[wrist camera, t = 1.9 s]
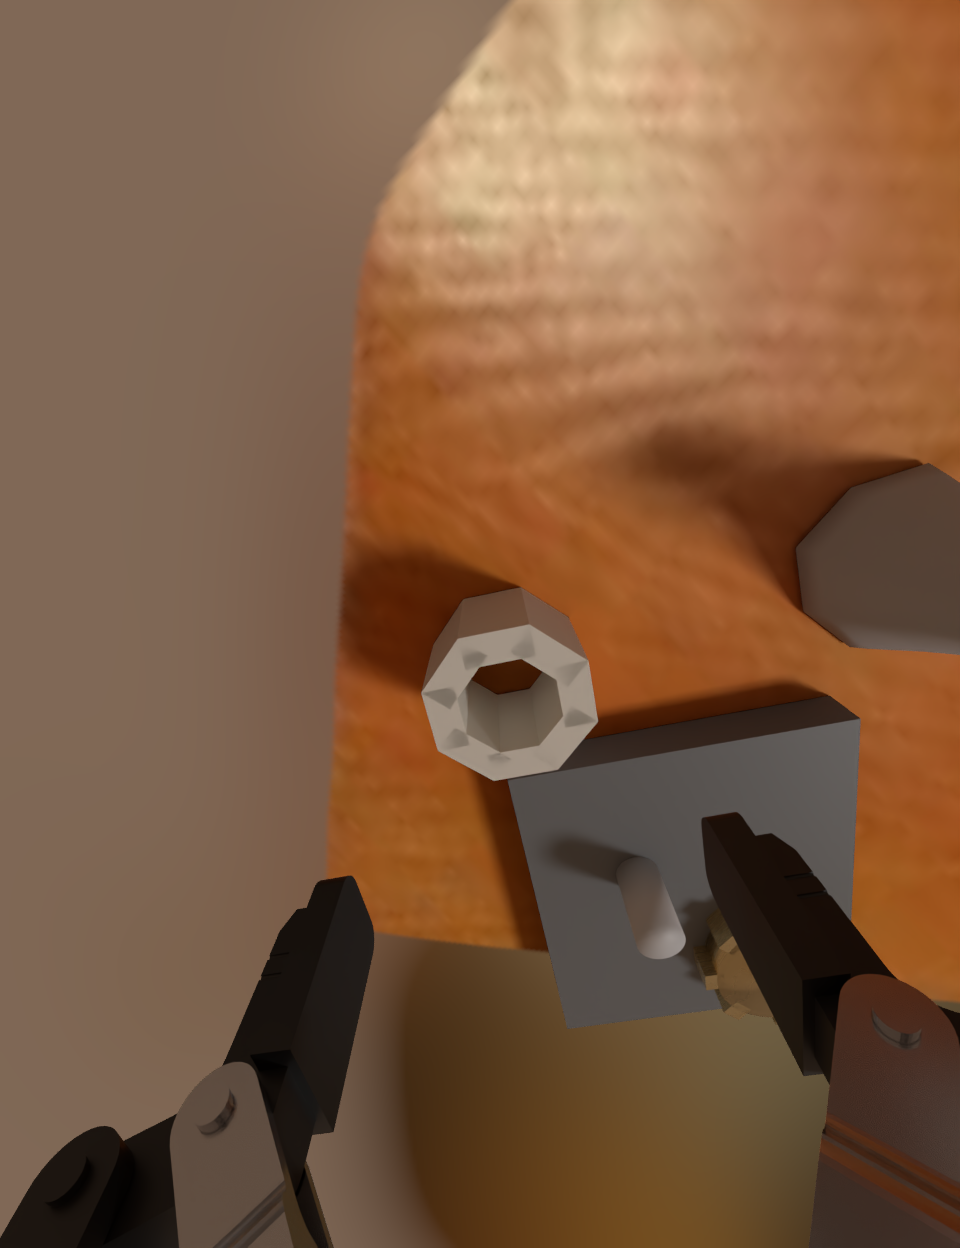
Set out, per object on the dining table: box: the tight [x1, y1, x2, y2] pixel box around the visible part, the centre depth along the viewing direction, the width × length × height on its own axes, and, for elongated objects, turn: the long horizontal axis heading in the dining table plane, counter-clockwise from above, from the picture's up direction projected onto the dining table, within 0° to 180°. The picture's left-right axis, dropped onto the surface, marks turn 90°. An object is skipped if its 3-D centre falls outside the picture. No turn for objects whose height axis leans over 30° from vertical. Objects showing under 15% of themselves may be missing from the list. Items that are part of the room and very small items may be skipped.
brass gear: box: [693, 908, 778, 1025], centre depth 24 cm, size 8×8×3 cm
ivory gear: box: [421, 587, 598, 781], centre depth 20 cm, size 6×6×4 cm
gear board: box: [508, 696, 860, 1029], centre depth 24 cm, size 17×15×6 cm
